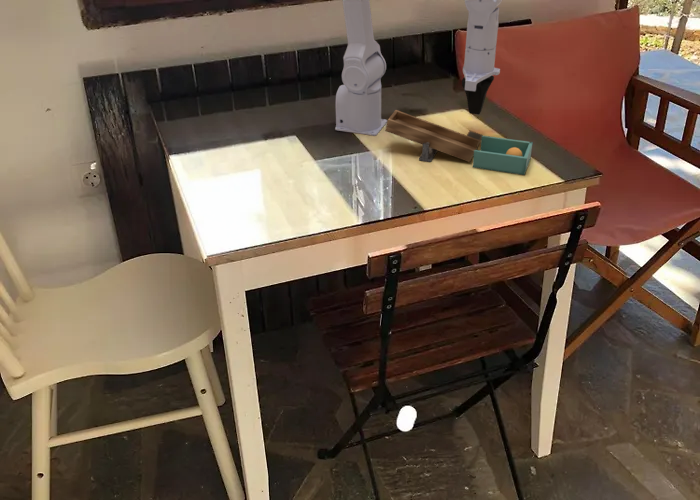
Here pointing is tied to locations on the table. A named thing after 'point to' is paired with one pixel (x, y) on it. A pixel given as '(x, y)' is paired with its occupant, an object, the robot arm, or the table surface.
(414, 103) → the table surface
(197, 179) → the table surface
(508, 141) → the teal open-ended tray
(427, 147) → the fulcrum
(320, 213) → the table surface
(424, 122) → the lever
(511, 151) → the ball
